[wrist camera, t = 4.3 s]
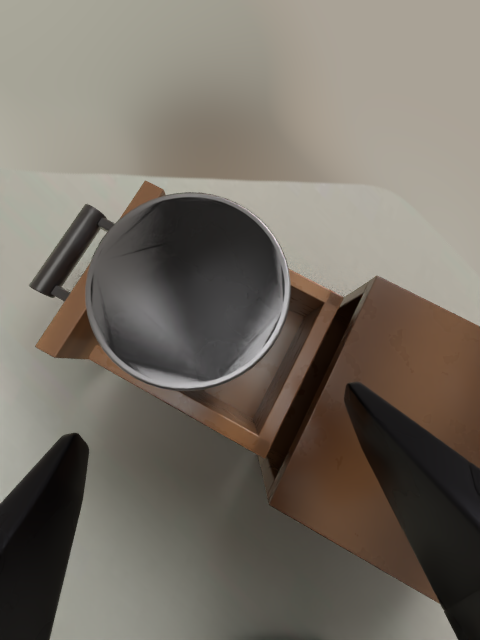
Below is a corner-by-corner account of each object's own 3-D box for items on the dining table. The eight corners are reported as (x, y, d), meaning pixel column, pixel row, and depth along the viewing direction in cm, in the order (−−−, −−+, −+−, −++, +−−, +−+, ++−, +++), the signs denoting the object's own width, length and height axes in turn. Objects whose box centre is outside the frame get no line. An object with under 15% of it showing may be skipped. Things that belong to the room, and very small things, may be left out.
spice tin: (261, 375, 18) (298, 387, 7) (172, 378, 18) (76, 395, 7) (257, 289, 19) (285, 189, 8) (173, 292, 19) (90, 193, 8)
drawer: (47, 326, 20) (-31, 309, 14) (126, 207, 21) (85, 149, 16) (252, 441, 19) (258, 475, 13) (319, 307, 20) (351, 284, 14)
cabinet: (256, 451, 19) (268, 505, 12) (327, 307, 21) (377, 274, 14) (438, 555, 18) (578, 684, 11) (497, 395, 20) (651, 411, 13)
